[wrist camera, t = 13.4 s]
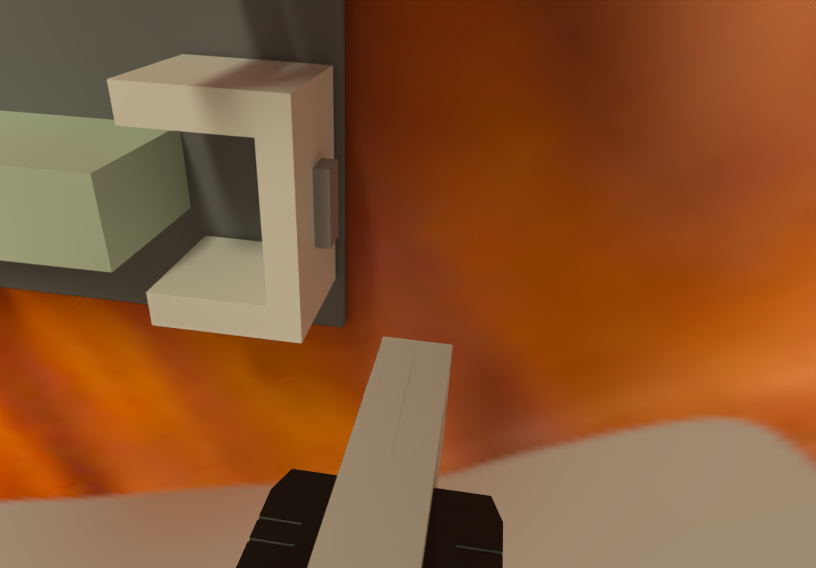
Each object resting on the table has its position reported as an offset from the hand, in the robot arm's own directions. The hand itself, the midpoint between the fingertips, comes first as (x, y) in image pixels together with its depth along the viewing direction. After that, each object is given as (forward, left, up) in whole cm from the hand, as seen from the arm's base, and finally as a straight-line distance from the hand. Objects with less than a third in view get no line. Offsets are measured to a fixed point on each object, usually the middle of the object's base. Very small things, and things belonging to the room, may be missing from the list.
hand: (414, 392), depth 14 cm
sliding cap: (0, -7, -12) cm, 14 cm away
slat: (0, -18, -12) cm, 22 cm away
